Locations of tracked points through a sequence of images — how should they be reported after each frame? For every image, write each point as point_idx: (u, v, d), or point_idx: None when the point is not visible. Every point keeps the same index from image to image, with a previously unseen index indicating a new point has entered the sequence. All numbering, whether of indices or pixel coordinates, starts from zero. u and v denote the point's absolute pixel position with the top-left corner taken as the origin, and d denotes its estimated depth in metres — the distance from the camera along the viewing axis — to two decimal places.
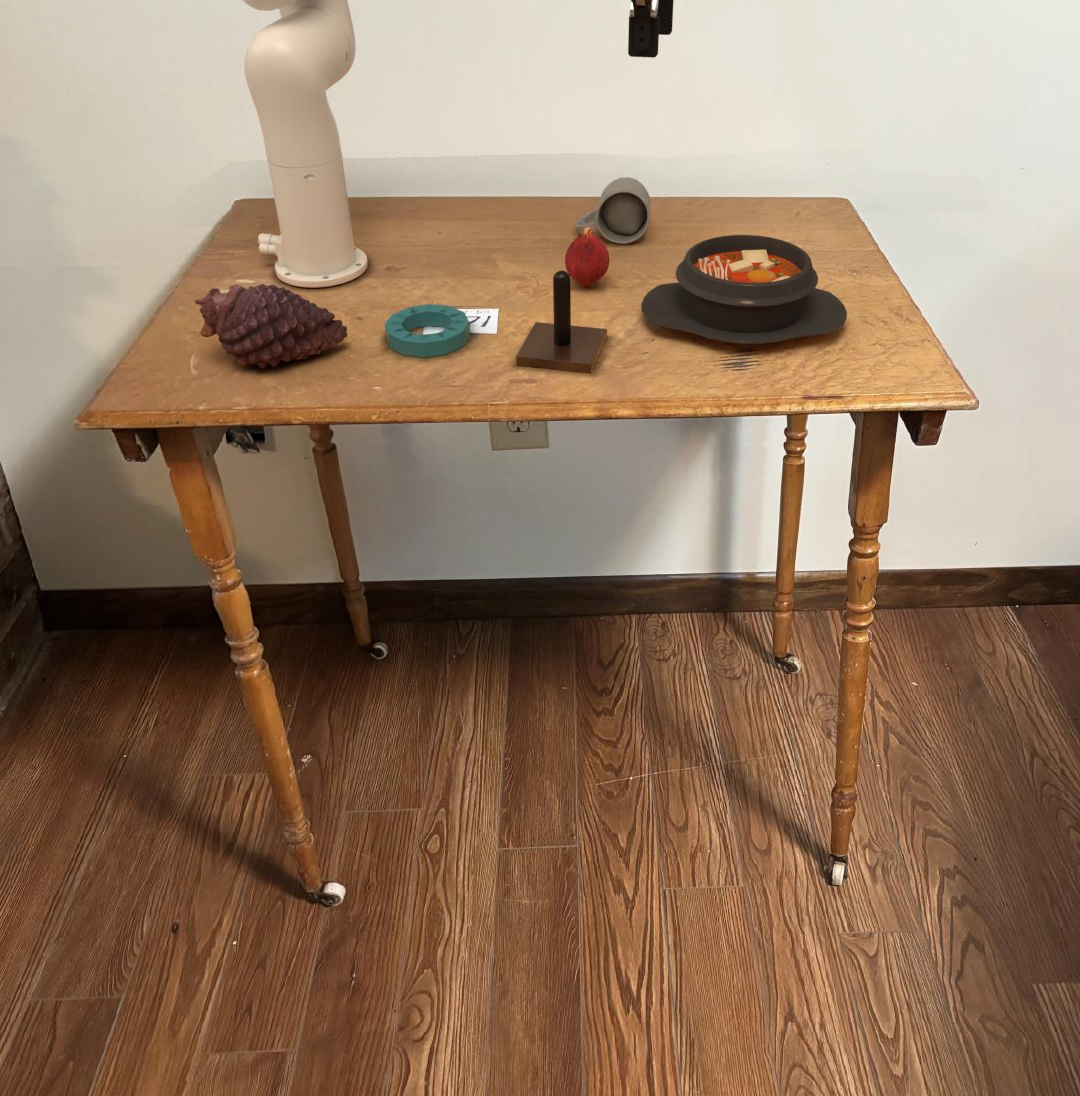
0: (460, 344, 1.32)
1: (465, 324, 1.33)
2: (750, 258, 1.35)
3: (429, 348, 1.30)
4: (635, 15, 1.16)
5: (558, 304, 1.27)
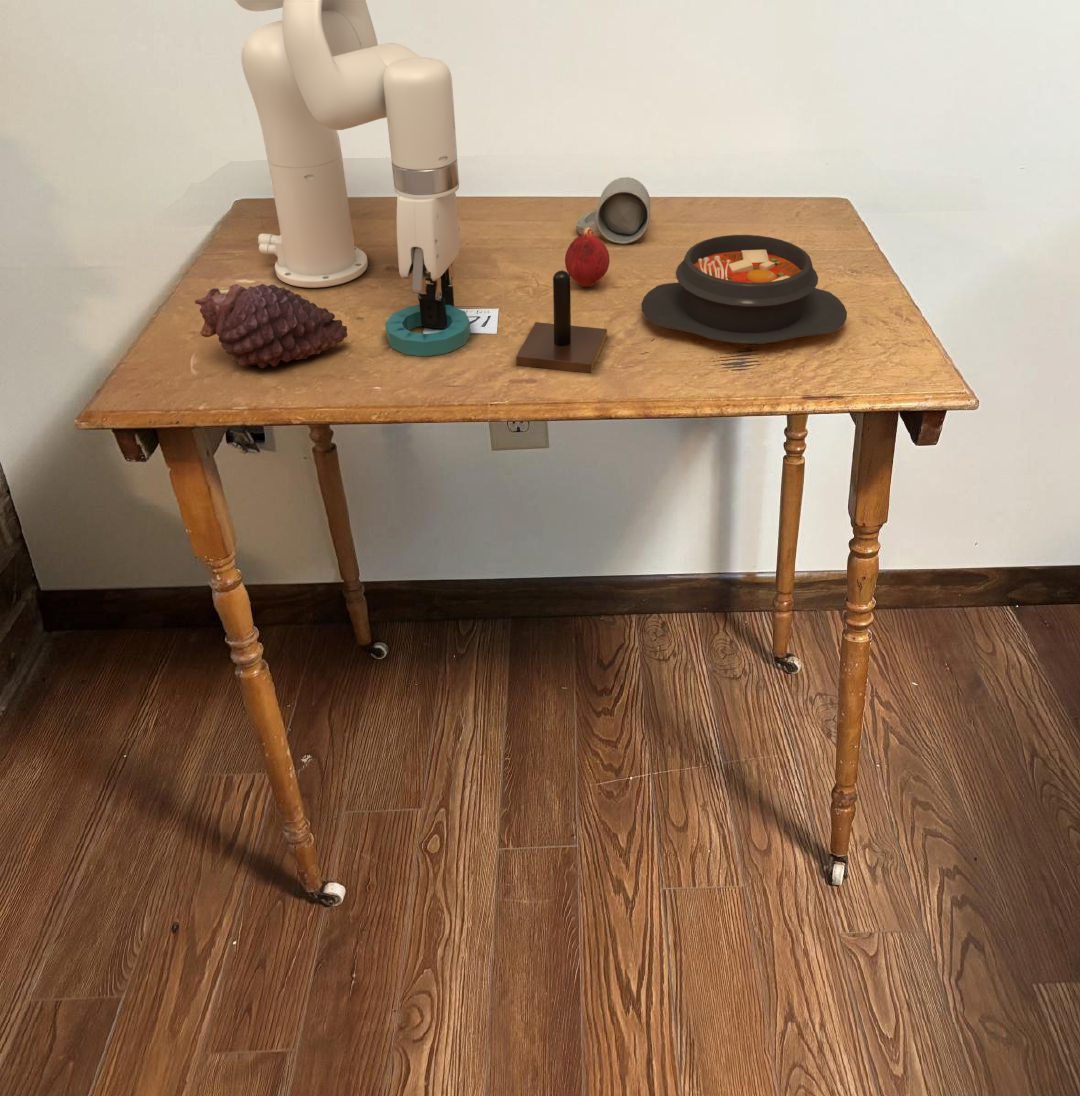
0: (461, 343, 1.33)
1: (466, 323, 1.33)
2: (750, 258, 1.35)
3: (430, 347, 1.31)
4: (422, 298, 1.33)
5: (558, 304, 1.27)
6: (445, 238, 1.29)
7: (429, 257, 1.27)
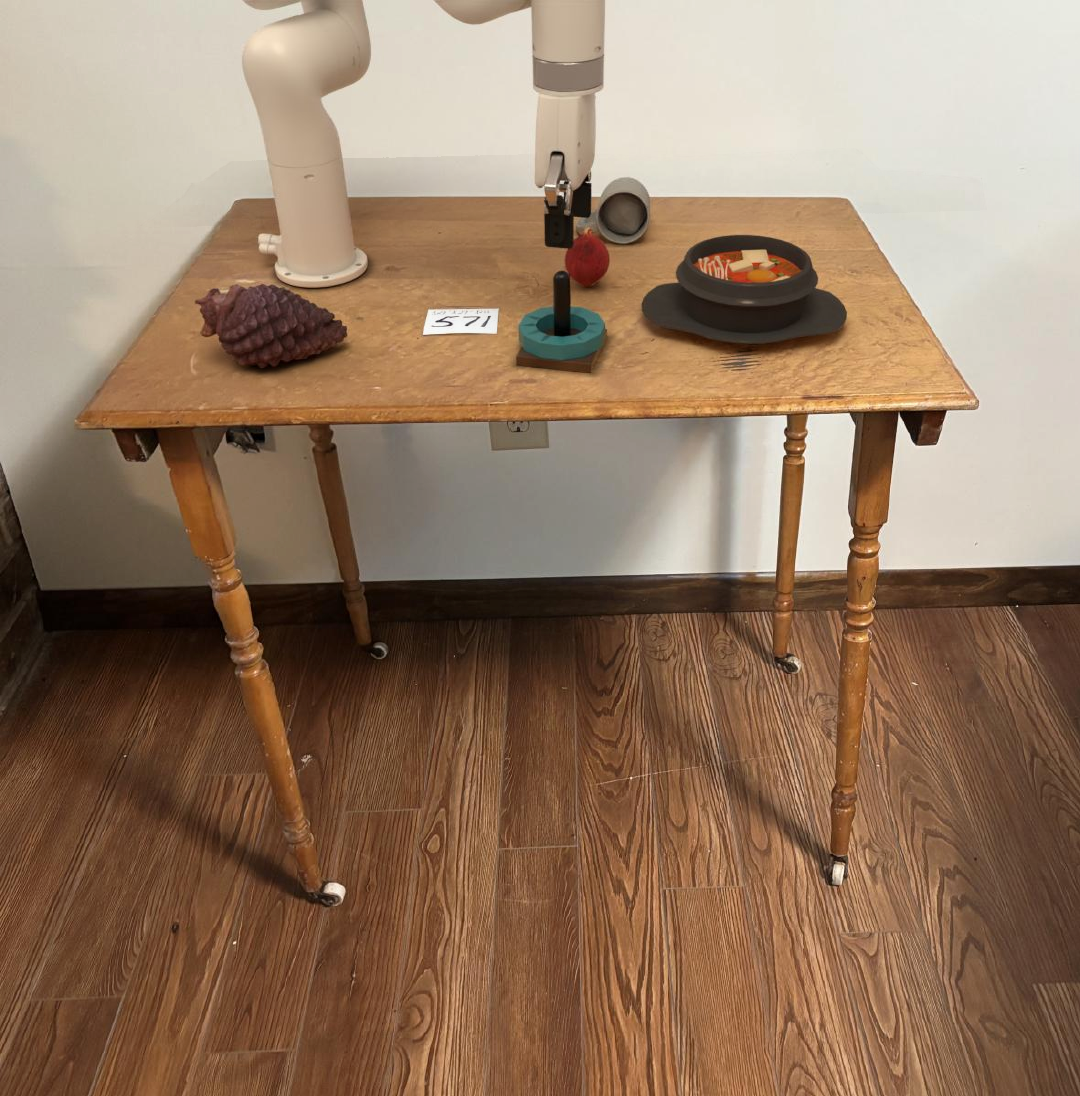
0: (597, 346, 1.29)
1: (602, 326, 1.29)
2: (750, 258, 1.35)
3: (567, 351, 1.27)
4: (549, 212, 1.19)
5: (558, 304, 1.27)
6: (586, 143, 1.18)
7: (571, 163, 1.16)
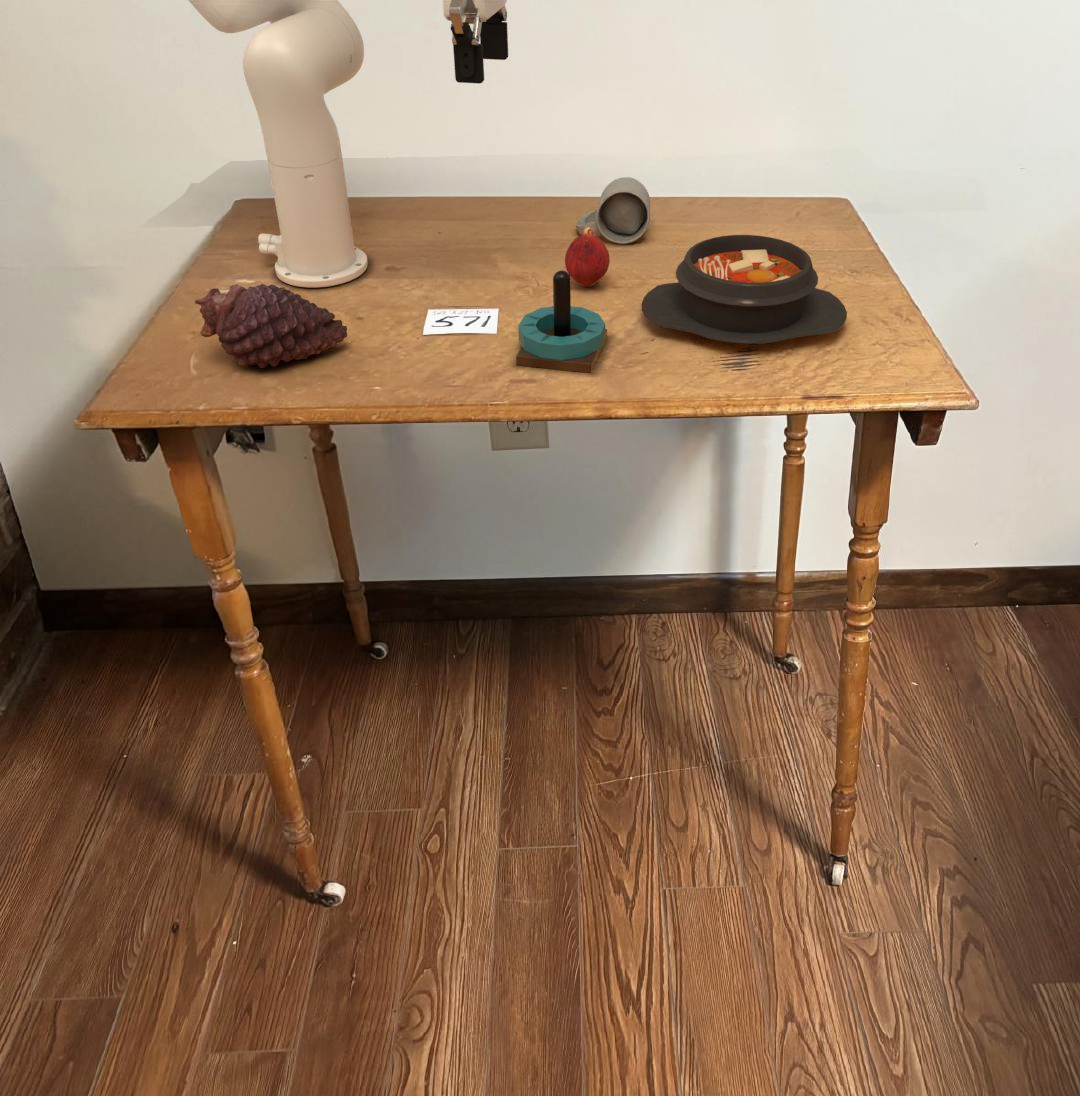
0: (597, 346, 1.29)
1: (602, 326, 1.29)
2: (750, 258, 1.35)
3: (567, 351, 1.27)
4: (457, 43, 1.18)
5: (558, 304, 1.27)
6: None
7: None
